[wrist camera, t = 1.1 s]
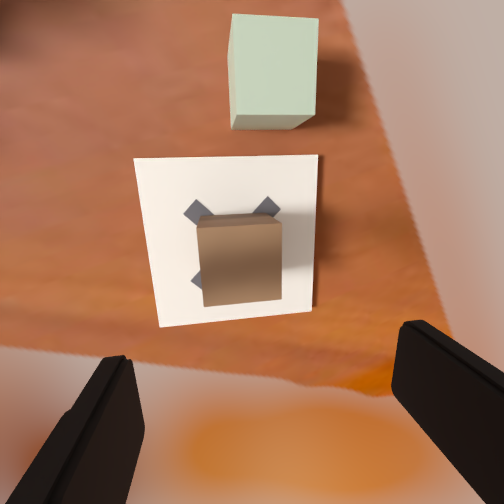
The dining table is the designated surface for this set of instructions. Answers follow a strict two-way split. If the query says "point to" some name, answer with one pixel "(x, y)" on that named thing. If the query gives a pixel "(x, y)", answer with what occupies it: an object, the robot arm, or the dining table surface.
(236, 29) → the sage green cube
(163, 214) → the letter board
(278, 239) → the walnut block
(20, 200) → the dining table surface
